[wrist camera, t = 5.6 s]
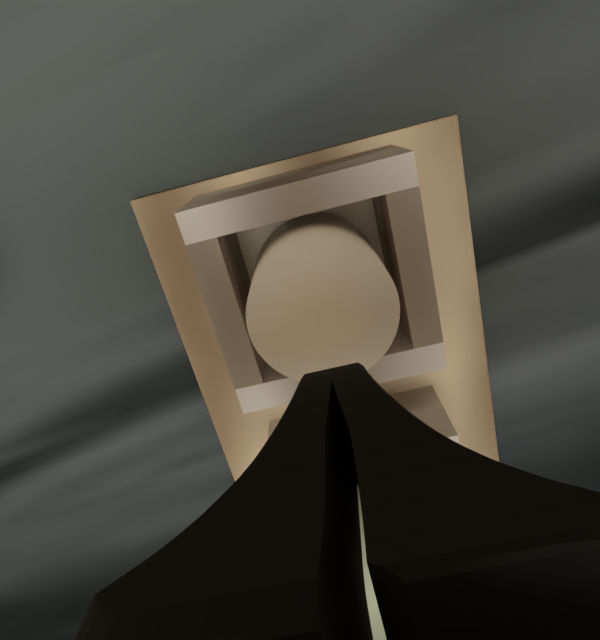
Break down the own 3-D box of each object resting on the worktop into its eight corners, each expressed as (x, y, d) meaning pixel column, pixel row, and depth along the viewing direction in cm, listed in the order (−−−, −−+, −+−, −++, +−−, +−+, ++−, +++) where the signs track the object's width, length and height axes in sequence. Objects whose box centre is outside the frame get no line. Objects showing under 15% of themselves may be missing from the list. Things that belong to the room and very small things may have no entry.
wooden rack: (453, 114, 18) (496, 114, 14) (518, 638, 28) (552, 718, 24) (132, 199, 19) (93, 219, 15) (310, 675, 29) (312, 757, 25)
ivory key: (364, 199, 17) (384, 222, 13) (388, 316, 19) (411, 366, 15) (240, 231, 17) (225, 262, 14) (273, 343, 19) (269, 398, 15)
